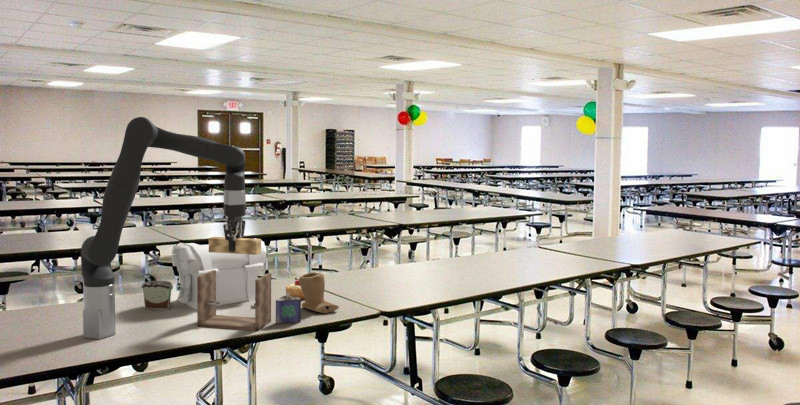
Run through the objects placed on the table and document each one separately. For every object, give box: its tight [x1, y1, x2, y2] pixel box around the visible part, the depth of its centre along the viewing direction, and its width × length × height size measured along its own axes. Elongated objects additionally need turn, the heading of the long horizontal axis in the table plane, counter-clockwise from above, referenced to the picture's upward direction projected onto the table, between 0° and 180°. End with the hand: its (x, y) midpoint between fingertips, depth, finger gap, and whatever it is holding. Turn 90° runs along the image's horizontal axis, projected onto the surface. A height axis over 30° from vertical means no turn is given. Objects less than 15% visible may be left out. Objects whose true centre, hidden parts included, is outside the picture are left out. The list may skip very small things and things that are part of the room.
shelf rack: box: [196, 270, 272, 332], centre depth 219 cm, size 12×23×18 cm, turn 81°
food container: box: [140, 280, 174, 311], centre depth 240 cm, size 12×6×10 cm, turn 84°
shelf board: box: [208, 236, 262, 255], centre depth 218 cm, size 18×4×5 cm, turn 81°
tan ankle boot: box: [298, 271, 340, 314], centre depth 241 cm, size 15×12×15 cm
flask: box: [275, 293, 302, 325], centre depth 223 cm, size 9×3×11 cm, turn 109°
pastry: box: [285, 278, 305, 300], centre depth 262 cm, size 12×12×9 cm
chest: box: [171, 237, 267, 310], centre depth 253 cm, size 35×23×25 cm, turn 132°
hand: (234, 250), depth 218 cm, fingers closed on shelf board, 4 cm apart
